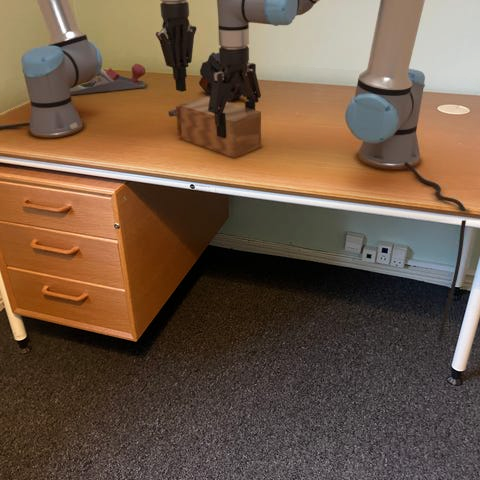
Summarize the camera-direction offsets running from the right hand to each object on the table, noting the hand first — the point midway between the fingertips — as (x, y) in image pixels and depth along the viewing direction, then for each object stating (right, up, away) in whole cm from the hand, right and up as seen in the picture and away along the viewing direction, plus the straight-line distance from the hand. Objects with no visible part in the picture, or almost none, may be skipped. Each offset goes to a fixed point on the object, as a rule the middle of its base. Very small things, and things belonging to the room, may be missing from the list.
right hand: (236, 130), depth 144 cm
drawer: (-9, +1, +9) cm, 12 cm away
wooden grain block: (-4, -2, +6) cm, 8 cm away
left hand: (-16, +14, +9) cm, 23 cm away
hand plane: (-49, +27, +54) cm, 77 cm away
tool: (-4, +21, +43) cm, 48 cm away
